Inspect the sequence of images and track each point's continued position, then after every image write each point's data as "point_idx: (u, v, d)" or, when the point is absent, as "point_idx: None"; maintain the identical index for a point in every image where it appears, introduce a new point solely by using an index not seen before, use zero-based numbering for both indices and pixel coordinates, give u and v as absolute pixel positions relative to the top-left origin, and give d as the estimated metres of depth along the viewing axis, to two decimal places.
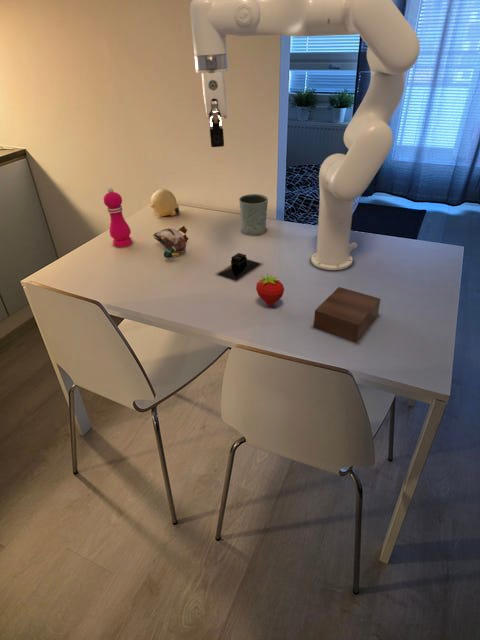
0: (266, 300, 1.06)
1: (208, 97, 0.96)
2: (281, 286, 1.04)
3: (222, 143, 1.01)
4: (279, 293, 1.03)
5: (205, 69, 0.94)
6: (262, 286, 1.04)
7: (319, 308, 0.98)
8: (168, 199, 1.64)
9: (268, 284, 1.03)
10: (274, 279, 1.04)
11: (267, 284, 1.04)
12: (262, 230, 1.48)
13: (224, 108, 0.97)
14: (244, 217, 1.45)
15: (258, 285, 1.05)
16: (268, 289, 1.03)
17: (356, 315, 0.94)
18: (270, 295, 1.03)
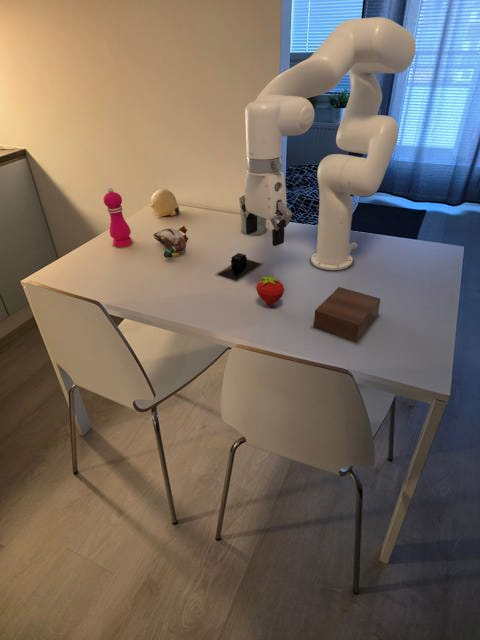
0: (266, 300, 1.06)
1: (273, 199, 0.89)
2: (281, 286, 1.04)
3: (282, 240, 0.96)
4: (279, 293, 1.03)
5: (269, 172, 0.87)
6: (262, 286, 1.04)
7: (319, 308, 0.98)
8: (168, 199, 1.64)
9: (268, 284, 1.03)
10: (274, 279, 1.04)
11: (267, 284, 1.04)
12: (262, 230, 1.48)
13: (286, 207, 0.92)
14: (244, 217, 1.45)
15: (258, 285, 1.05)
16: (268, 289, 1.03)
17: (356, 315, 0.94)
18: (270, 295, 1.03)
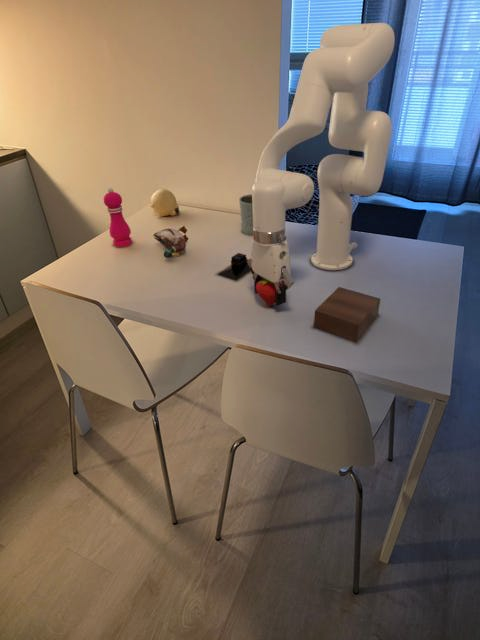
0: (266, 300, 1.06)
1: (278, 266, 0.97)
2: (281, 286, 1.04)
3: (284, 300, 1.05)
4: None
5: (274, 243, 0.95)
6: (262, 286, 1.04)
7: (319, 308, 0.98)
8: (168, 199, 1.64)
9: (268, 284, 1.03)
10: None
11: (267, 284, 1.04)
12: None
13: None
14: (244, 217, 1.45)
15: (258, 285, 1.05)
16: (268, 289, 1.03)
17: (356, 315, 0.94)
18: (270, 295, 1.03)
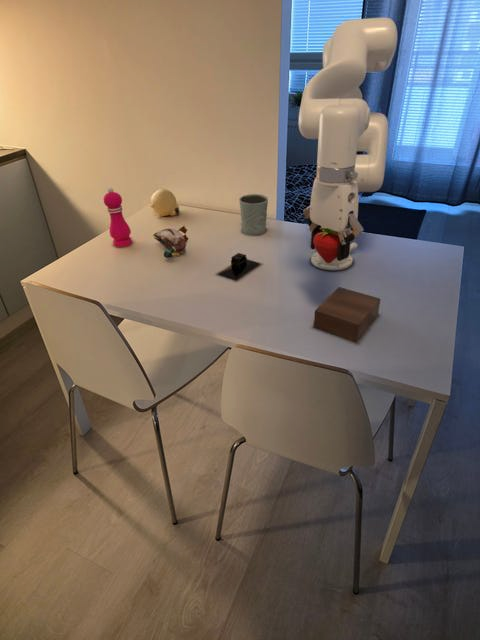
0: (325, 255, 0.92)
1: (346, 210, 0.83)
2: None
3: (347, 254, 0.91)
4: None
5: (343, 182, 0.81)
6: (322, 238, 0.90)
7: (319, 308, 0.98)
8: (168, 199, 1.64)
9: (329, 235, 0.90)
10: None
11: (328, 235, 0.90)
12: (262, 230, 1.48)
13: None
14: (244, 217, 1.45)
15: (316, 237, 0.91)
16: (329, 241, 0.89)
17: (356, 315, 0.94)
18: (331, 248, 0.90)
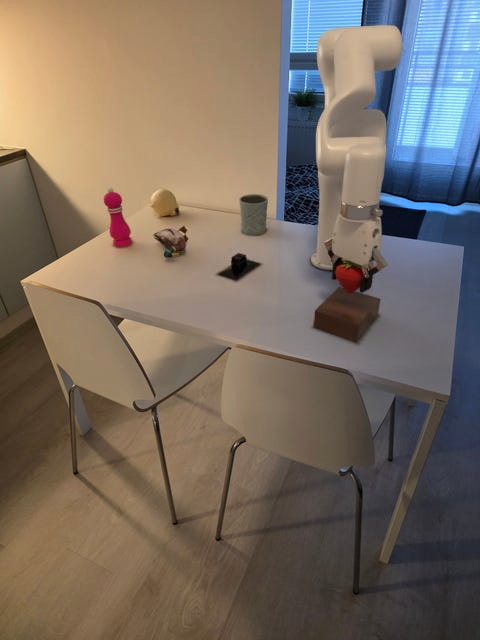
0: (347, 286, 0.93)
1: (370, 245, 0.85)
2: None
3: None
4: None
5: (368, 219, 0.83)
6: (345, 270, 0.92)
7: (319, 308, 0.98)
8: (168, 199, 1.64)
9: (352, 268, 0.91)
10: None
11: (350, 268, 0.91)
12: (262, 230, 1.48)
13: None
14: (244, 217, 1.45)
15: (339, 269, 0.93)
16: (352, 274, 0.91)
17: (356, 315, 0.94)
18: (354, 281, 0.91)
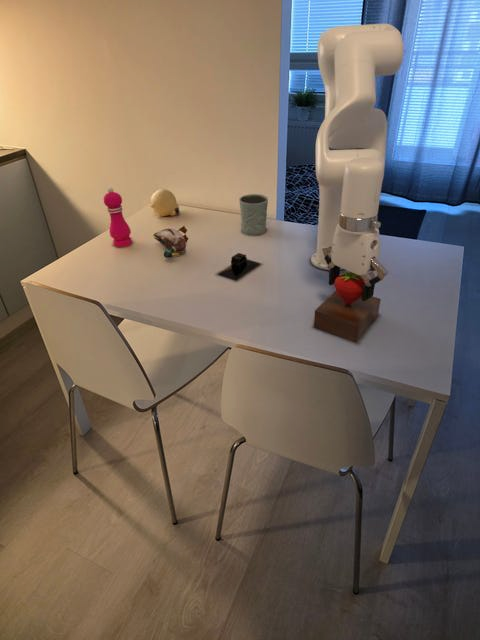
0: (346, 298, 0.95)
1: (368, 256, 0.86)
2: None
3: None
4: None
5: (366, 230, 0.84)
6: (343, 282, 0.93)
7: (319, 308, 0.98)
8: (168, 199, 1.64)
9: (350, 280, 0.93)
10: (356, 275, 0.94)
11: (349, 280, 0.93)
12: (262, 230, 1.48)
13: None
14: (244, 217, 1.45)
15: (338, 281, 0.94)
16: (351, 286, 0.92)
17: (356, 315, 0.94)
18: (352, 293, 0.93)
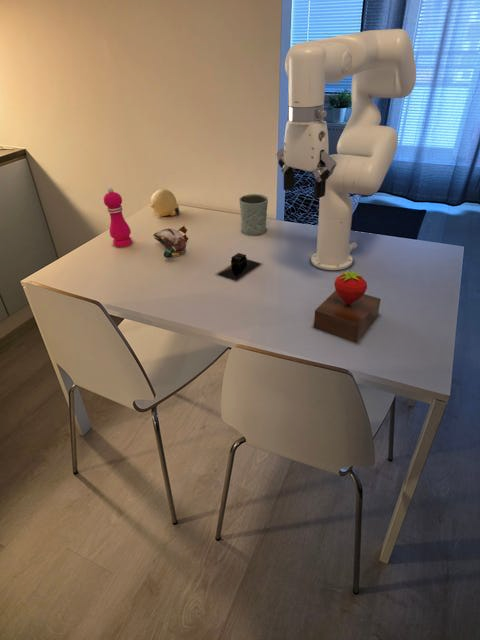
0: (346, 298, 0.95)
1: (317, 149, 0.89)
2: (365, 282, 0.93)
3: None
4: (363, 290, 0.93)
5: (313, 120, 0.86)
6: (343, 282, 0.93)
7: (319, 308, 0.98)
8: (168, 199, 1.64)
9: (350, 280, 0.93)
10: (356, 275, 0.94)
11: (349, 280, 0.93)
12: (262, 230, 1.48)
13: None
14: (244, 217, 1.45)
15: (338, 281, 0.94)
16: (351, 286, 0.92)
17: (356, 315, 0.94)
18: (352, 293, 0.93)
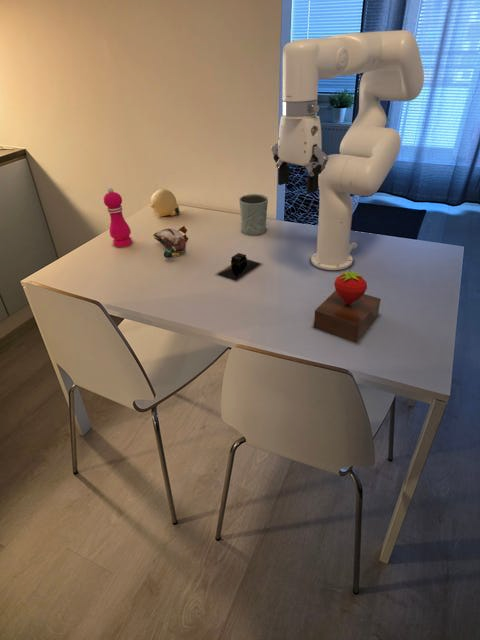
0: (346, 298, 0.95)
1: (309, 143, 0.90)
2: (365, 282, 0.93)
3: (316, 188, 0.96)
4: (363, 290, 0.93)
5: (306, 115, 0.87)
6: (343, 282, 0.93)
7: (319, 308, 0.98)
8: (168, 199, 1.64)
9: (350, 280, 0.93)
10: (356, 275, 0.94)
11: (349, 280, 0.93)
12: (262, 230, 1.48)
13: None
14: (244, 217, 1.45)
15: (337, 281, 0.94)
16: (351, 286, 0.92)
17: (356, 315, 0.94)
18: (352, 293, 0.93)
